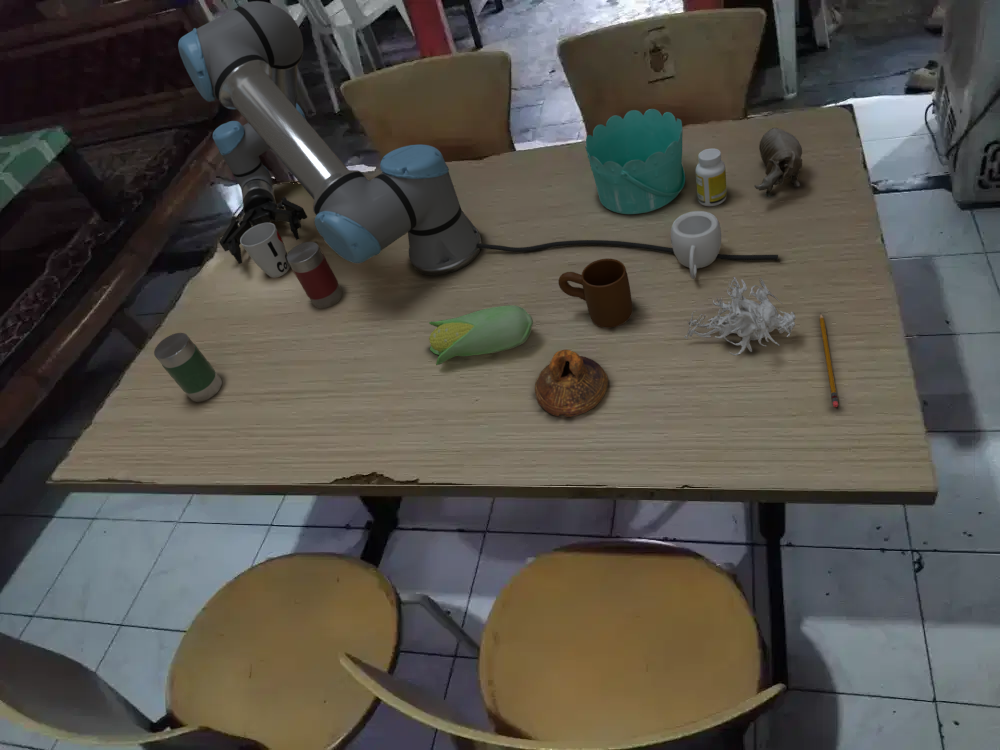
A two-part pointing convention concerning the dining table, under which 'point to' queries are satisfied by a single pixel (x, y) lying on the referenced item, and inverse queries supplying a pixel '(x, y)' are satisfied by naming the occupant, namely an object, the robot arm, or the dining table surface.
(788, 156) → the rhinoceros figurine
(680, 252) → the mug
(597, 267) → the mug
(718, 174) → the supplement bottle
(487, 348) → the corn
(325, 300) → the maroon can
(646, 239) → the dining table surface
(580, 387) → the bell
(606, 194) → the bucket
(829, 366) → the pencil
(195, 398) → the green can
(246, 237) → the cup
